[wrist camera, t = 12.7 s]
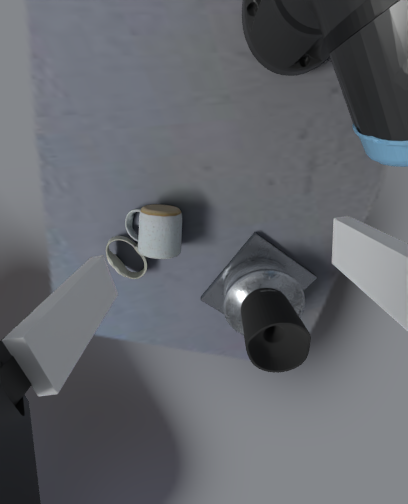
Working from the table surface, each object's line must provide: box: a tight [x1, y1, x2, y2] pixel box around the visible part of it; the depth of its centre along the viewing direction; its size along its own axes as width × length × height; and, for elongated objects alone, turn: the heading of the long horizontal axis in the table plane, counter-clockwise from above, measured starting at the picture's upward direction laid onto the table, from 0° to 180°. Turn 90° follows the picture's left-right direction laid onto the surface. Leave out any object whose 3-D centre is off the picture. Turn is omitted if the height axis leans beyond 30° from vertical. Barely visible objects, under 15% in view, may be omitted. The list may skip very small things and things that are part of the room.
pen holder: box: [241, 288, 311, 372], centre depth 39 cm, size 9×9×10 cm
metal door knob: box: [201, 232, 317, 335], centre depth 47 cm, size 18×16×7 cm
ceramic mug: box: [125, 204, 182, 259], centre depth 41 cm, size 11×8×8 cm
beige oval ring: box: [106, 236, 147, 279], centre depth 45 cm, size 9×6×5 cm
